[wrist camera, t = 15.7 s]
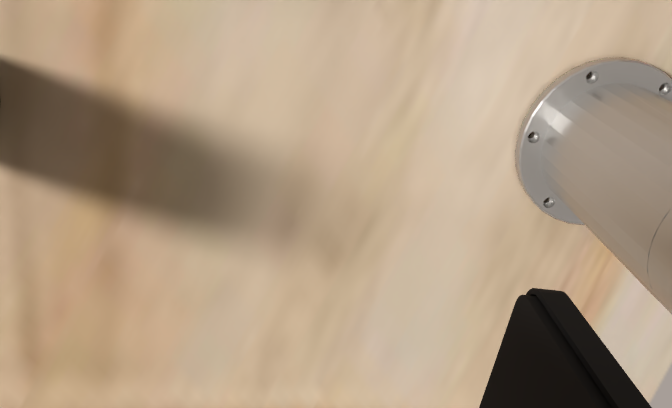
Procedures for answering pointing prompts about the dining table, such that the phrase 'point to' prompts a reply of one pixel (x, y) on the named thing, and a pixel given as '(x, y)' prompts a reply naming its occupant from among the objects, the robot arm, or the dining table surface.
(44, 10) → the dining table surface
